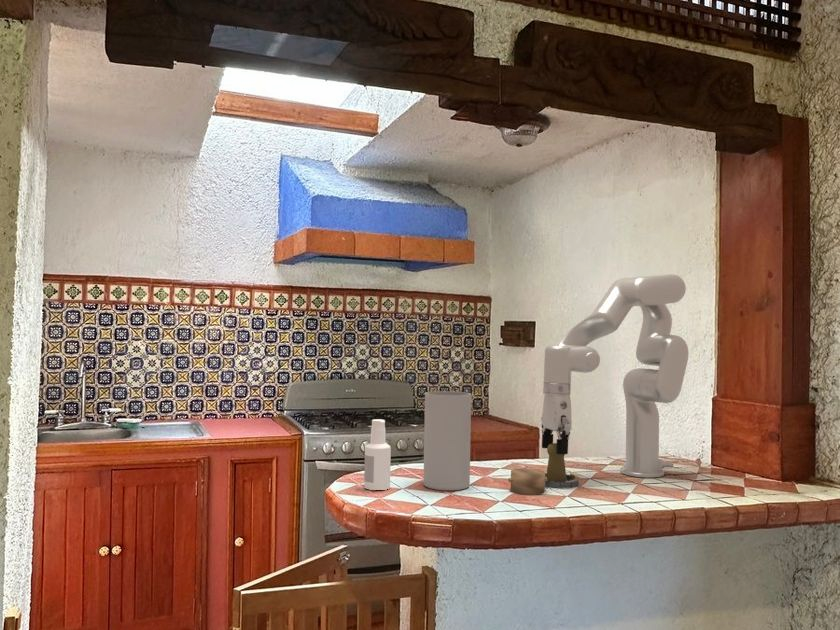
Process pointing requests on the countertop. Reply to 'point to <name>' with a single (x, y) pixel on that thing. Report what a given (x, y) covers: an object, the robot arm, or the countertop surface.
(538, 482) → the pot
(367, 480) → the spray bottle
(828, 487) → the countertop surface
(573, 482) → the collar
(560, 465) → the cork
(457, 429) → the cylinder vase
